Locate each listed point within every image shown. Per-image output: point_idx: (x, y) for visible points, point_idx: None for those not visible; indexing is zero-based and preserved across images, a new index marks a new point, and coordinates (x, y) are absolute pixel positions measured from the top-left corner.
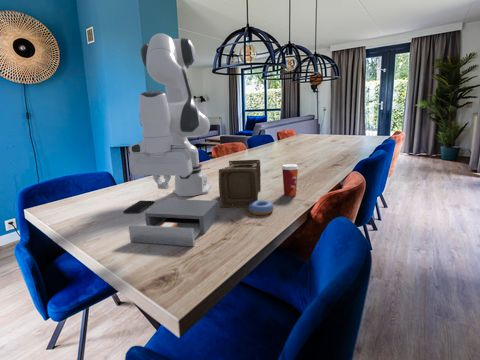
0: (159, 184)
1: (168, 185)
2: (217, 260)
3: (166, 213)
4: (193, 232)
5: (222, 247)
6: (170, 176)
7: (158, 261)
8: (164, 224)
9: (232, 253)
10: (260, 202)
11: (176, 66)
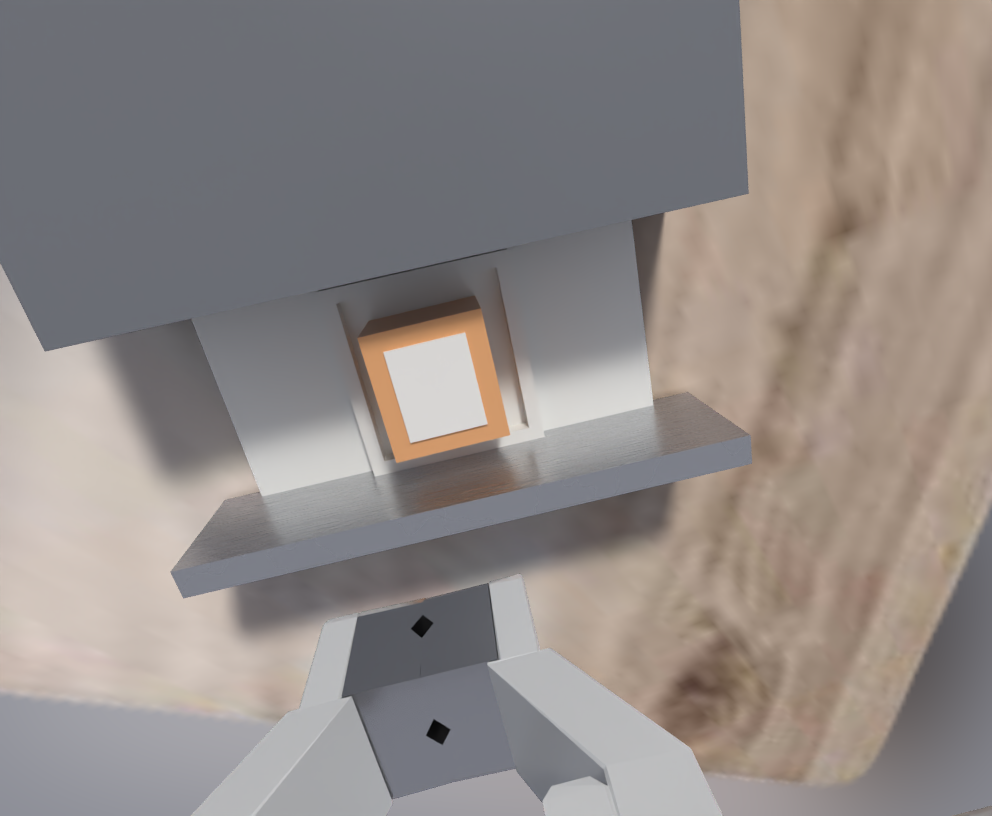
0: (400, 779)
1: (526, 595)
2: (879, 480)
3: (305, 273)
4: (732, 426)
5: (865, 344)
6: (710, 805)
7: (583, 604)
8: (402, 391)
9: (942, 386)
10: None
11: None
